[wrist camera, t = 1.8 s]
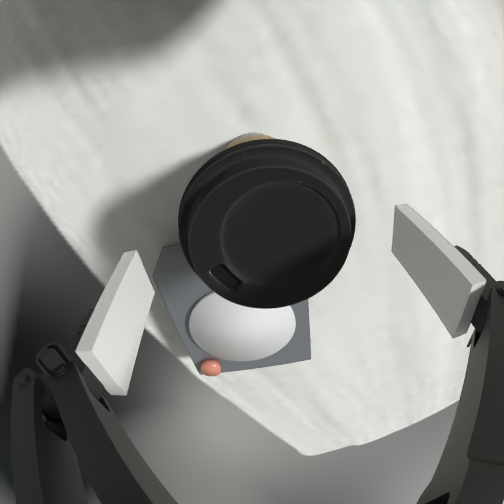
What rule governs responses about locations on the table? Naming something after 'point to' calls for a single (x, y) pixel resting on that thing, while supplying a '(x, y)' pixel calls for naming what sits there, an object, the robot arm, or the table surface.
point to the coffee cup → (266, 222)
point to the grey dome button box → (228, 322)
